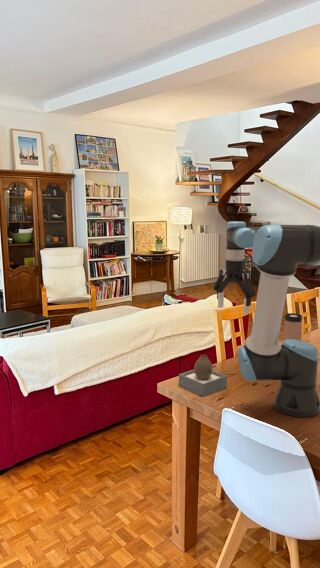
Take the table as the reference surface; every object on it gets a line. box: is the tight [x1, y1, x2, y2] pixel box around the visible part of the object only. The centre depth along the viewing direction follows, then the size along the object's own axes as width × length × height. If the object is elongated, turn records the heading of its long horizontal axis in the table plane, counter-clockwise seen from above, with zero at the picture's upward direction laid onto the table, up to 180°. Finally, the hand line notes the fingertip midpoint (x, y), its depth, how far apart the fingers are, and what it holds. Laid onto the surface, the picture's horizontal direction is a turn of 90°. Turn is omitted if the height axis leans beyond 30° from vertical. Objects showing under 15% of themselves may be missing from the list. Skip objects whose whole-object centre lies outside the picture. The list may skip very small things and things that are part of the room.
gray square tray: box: [178, 369, 228, 397], centre depth 167 cm, size 13×13×5 cm
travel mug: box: [283, 312, 303, 341], centre depth 201 cm, size 8×8×20 cm
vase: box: [193, 354, 213, 380], centre depth 166 cm, size 7×7×9 cm
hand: (233, 310), depth 181 cm, fingers open, 13 cm apart
